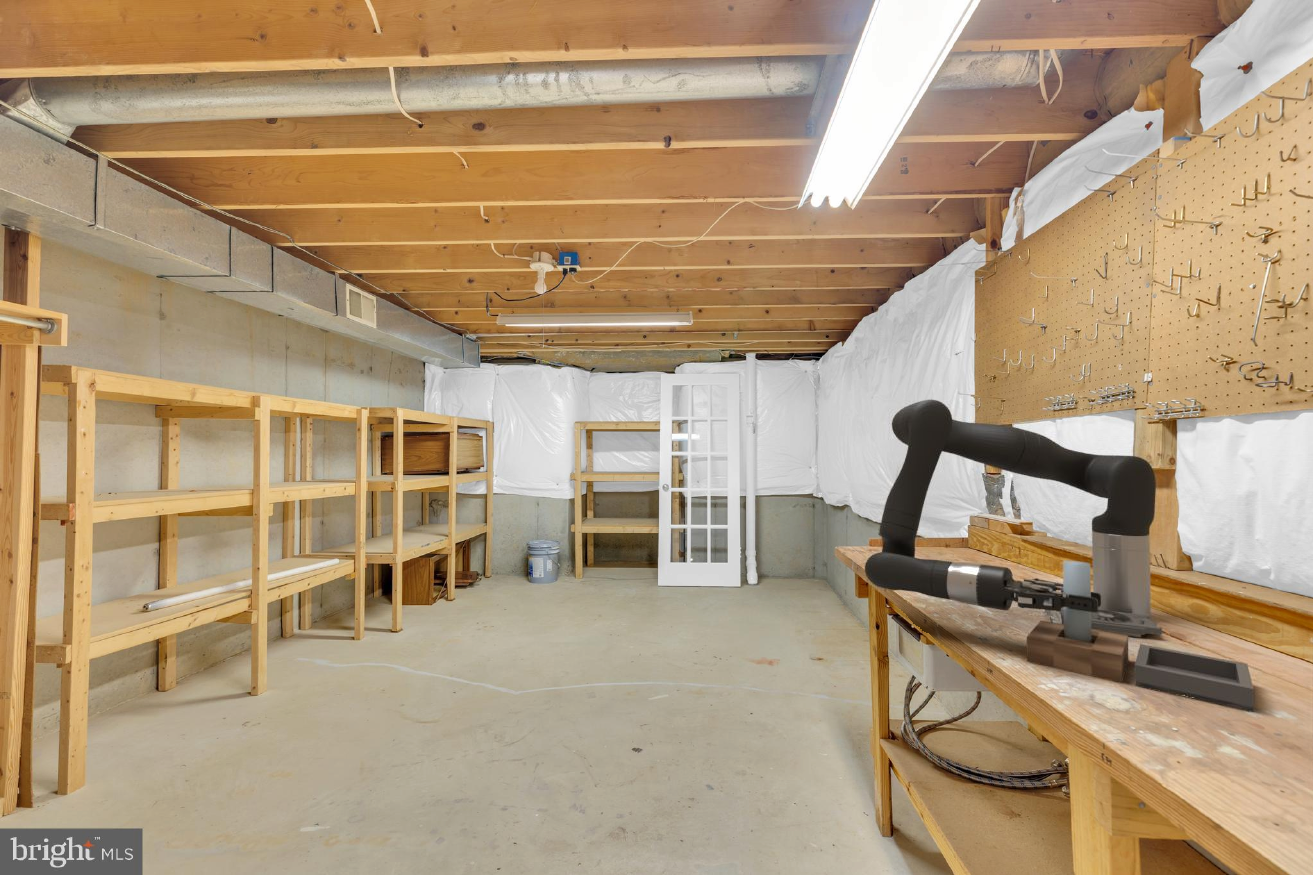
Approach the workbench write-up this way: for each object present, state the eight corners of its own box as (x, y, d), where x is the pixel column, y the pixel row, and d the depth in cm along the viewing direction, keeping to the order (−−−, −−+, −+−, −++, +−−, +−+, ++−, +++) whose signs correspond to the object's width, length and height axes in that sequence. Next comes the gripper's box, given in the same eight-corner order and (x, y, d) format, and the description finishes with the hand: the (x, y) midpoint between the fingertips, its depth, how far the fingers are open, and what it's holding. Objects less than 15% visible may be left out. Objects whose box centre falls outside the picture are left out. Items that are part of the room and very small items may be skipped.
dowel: (1066, 654, 95) (1065, 559, 95) (1093, 660, 92) (1091, 562, 92) (1062, 660, 92) (1061, 563, 92) (1090, 666, 89) (1088, 566, 90)
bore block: (1041, 642, 100) (1040, 620, 101) (1128, 660, 92) (1128, 635, 92) (1027, 661, 92) (1026, 636, 92) (1122, 682, 84) (1121, 655, 84)
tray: (1140, 662, 91) (1140, 643, 91) (1247, 683, 83) (1247, 663, 83) (1135, 685, 82) (1134, 664, 83) (1254, 711, 74) (1253, 689, 74)
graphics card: (1054, 616, 106) (1044, 599, 117) (1054, 635, 106) (1044, 617, 117) (1170, 630, 99) (1148, 610, 109) (1170, 651, 99) (1147, 629, 109)
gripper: (968, 570, 97) (1093, 587, 85) (989, 558, 107) (1103, 572, 95) (968, 614, 97) (1094, 637, 85) (989, 597, 107) (1104, 616, 95)
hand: (1098, 602), depth 90 cm, fingers closed on dowel, 3 cm apart
